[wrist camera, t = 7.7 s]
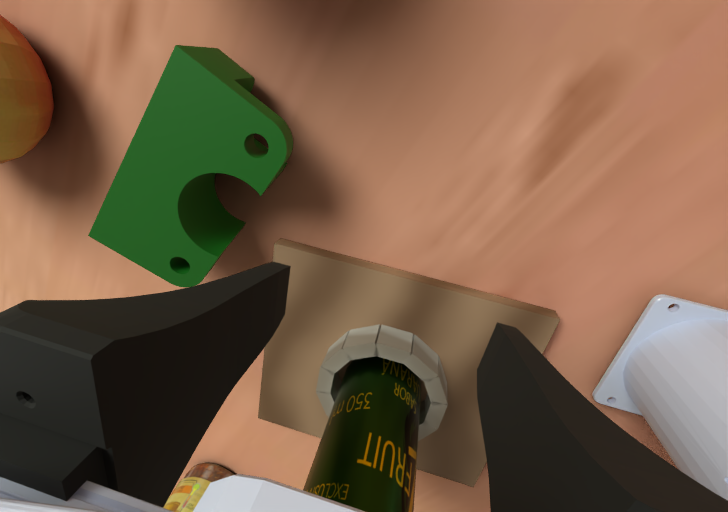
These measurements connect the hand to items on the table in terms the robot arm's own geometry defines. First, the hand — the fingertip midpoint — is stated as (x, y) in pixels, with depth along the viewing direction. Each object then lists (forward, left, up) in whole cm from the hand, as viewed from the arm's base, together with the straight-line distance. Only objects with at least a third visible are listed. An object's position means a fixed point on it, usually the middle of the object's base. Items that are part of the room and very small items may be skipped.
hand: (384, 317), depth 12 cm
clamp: (+11, -3, -12) cm, 17 cm away
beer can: (-1, +11, -10) cm, 15 cm away
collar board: (-1, +11, -10) cm, 15 cm away
